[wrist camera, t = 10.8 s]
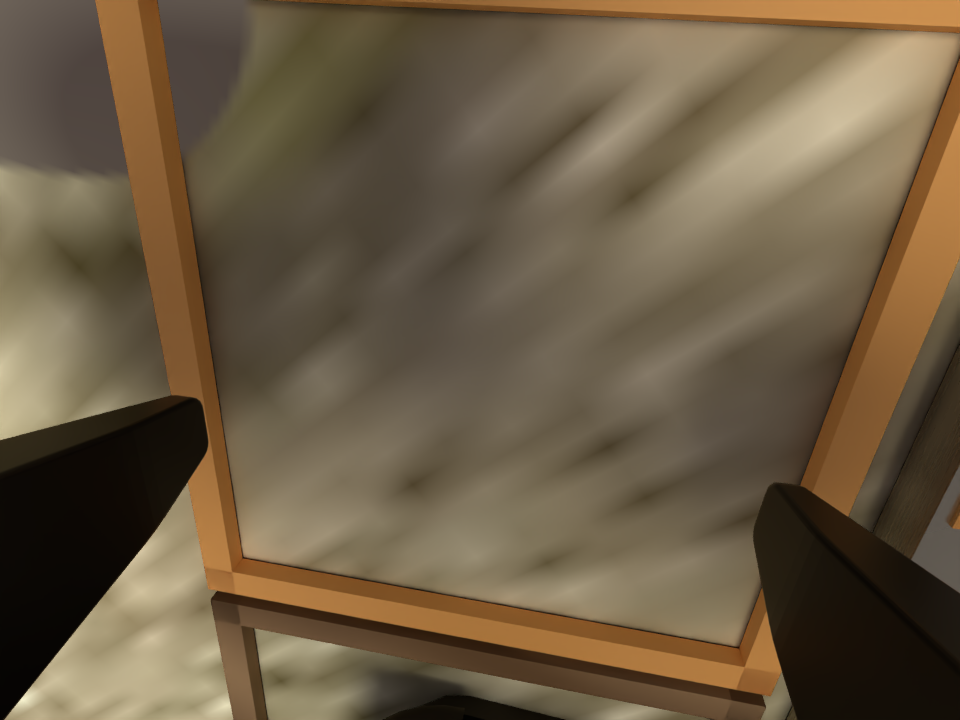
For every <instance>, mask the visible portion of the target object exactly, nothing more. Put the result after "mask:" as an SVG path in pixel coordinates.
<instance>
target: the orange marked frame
mask: <svg viewBox="0 0 960 720" xmlns="http://www.w3.org/2000/svg"><path fill="white" fill-rule="evenodd" d="M95 1H96V7H97V12H98V17H99V23H100V28H101V33H102V38H103V43H104V48H105V54H106V59H107V64H108V69H109V75H110V80H111V85H112V90H113V95H114V100H115V106H116V111H117V116H118V121H119V127H120V132H121V137H122V142H123V147H124V153H125V157H126V163H127V168H128V173H129V179H130V184H131V189H132V194H133V199H134V205H135V210H136V215H137V220H138V225H139V231H140V236H141V241H142V246H143V251H144V257H145V262H146V267H147V272H148V277H149V283H150V288H151V293H152V298H153V303H154V308H155V314H156V319H157V324H158V329H159V334H160V340H161V345H162V350H163V355H164V360H165V366H166V371H167V376H168V381H169V386H170V392H171V395H180V396H187V397H194V398H197V399H198V400H200V402H201V403H202V405H203V409H204V416H205V422H206V428H207V434H208V440H209V443H208V449H207V452H206V455H205V456H204V458H203V460H202V461H201V463H200V464H199V466H198V467H197V469H196V470H195V472H194V473H193V475H192V476H191V478H190V479H189V481H188V485H189V490H190V495H191V501H192V506H193V511H194V516H195V521H196V527H197V532H198V537H199V542H200V547H201V553H202V558H203V563H204V568H205V573H206V579H207V584H208V589H211V590H217V591H222V592H227V593H232V594H237V595H243V596H248V597H253V598H258V599H264V600H269V601H274V602H279V603H285V604H290V605H295V606H300V607H306V608H311V609H316V610H321V611H326V612H332V613H337V614H342V615H347V616H353V617H358V618H363V619H368V620H374V621H379V622H384V623H389V624H395V625H400V626H405V627H410V628H415V629H421V630H426V631H431V632H436V633H442V634H447V635H452V636H457V637H463V638H468V639H473V640H478V641H484V642H489V643H494V644H499V645H504V646H510V647H515V648H520V649H525V650H531V651H536V652H541V653H546V654H552V655H557V656H562V657H567V658H573V659H578V660H583V661H588V662H593V663H599V664H604V665H609V666H614V667H620V668H625V669H630V670H635V671H641V672H646V673H651V674H656V675H662V676H667V677H672V678H677V679H682V680H688V681H693V682H698V683H703V684H709V685H714V686H719V687H724V688H730V689H735V690H740V691H745V692H751V693H756V694H761V695H766V696H771V694H772V692H773V690H774V687H775V685H776V683H777V681H778V678H779V676H780V674H781V671H782V670H781V667H780V663H779V660H778V657H777V653H776V650H775V646H774V643H773V639H772V635H771V630H770V626H769V621H768V615H767V610H766V605H765V600H764V594H763V589H761V591H760V594H759V597H758V599H757V602H756V605H755V608H754V610H753V613H752V616H751V618H750V621H749V624H748V626H747V629H746V632H745V634H744V637H743V640H742V642H741V645H740V648H739V649H738V648H732V647H727V646H721V645H716V644H710V643H705V642H699V641H694V640H688V639H683V638H677V637H672V636H666V635H661V634H655V633H650V632H644V631H639V630H633V629H628V628H622V627H617V626H611V625H606V624H600V623H595V622H589V621H584V620H578V619H573V618H567V617H562V616H556V615H551V614H545V613H540V612H534V611H529V610H523V609H518V608H512V607H507V606H501V605H496V604H490V603H485V602H479V601H474V600H468V599H463V598H457V597H452V596H446V595H441V594H435V593H430V592H424V591H419V590H414V589H408V588H403V587H397V586H392V585H386V584H381V583H375V582H370V581H364V580H359V579H353V578H348V577H342V576H337V575H331V574H326V573H320V572H315V571H309V570H304V569H298V568H293V567H287V566H282V565H276V564H271V563H265V562H260V561H254V560H249V559H243V558H242V551H241V545H240V538H239V532H238V525H237V519H236V512H235V506H234V499H233V493H232V486H231V479H230V473H229V466H228V460H227V453H226V447H225V440H224V434H223V427H222V421H221V414H220V407H219V401H218V394H217V388H216V381H215V375H214V368H213V362H212V355H211V349H210V342H209V336H208V329H207V322H206V316H205V309H204V303H203V296H202V290H201V283H200V277H199V270H198V264H197V257H196V250H195V244H194V237H193V231H192V224H191V218H190V211H189V205H188V198H187V192H186V185H185V178H184V172H183V165H182V159H181V152H180V146H179V139H178V133H177V126H176V120H175V113H174V107H173V100H172V93H171V87H170V81H169V75H168V67H167V61H166V54H165V48H164V41H163V35H162V28H161V21H160V15H159V8H158V2H157V0H95ZM270 1H291V2H313V3H334V4H355V5H377V6H398V7H419V8H441V9H462V10H484V11H505V12H526V13H548V14H569V15H590V16H612V17H633V18H655V19H676V20H697V21H719V22H740V23H761V24H783V25H804V26H826V27H847V28H868V29H890V30H911V31H932V32H954V33H960V0H270ZM959 258H960V59H959V62H958V65H957V67H956V70H955V73H954V75H953V78H952V81H951V83H950V86H949V89H948V91H947V94H946V97H945V99H944V102H943V105H942V107H941V110H940V113H939V115H938V118H937V121H936V124H935V126H934V129H933V132H932V134H931V137H930V140H929V142H928V145H927V148H926V150H925V153H924V156H923V158H922V161H921V164H920V166H919V169H918V172H917V174H916V177H915V180H914V182H913V185H912V188H911V190H910V193H909V196H908V198H907V201H906V204H905V206H904V209H903V212H902V214H901V217H900V220H899V222H898V225H897V228H896V230H895V233H894V236H893V238H892V241H891V244H890V247H889V249H888V252H887V255H886V257H885V260H884V263H883V265H882V268H881V271H880V273H879V276H878V279H877V281H876V284H875V287H874V289H873V292H872V295H871V297H870V300H869V303H868V305H867V308H866V311H865V313H864V316H863V319H862V321H861V324H860V327H859V329H858V332H857V335H856V337H855V340H854V343H853V345H852V348H851V351H850V353H849V356H848V359H847V362H846V364H845V367H844V370H843V372H842V375H841V378H840V380H839V383H838V386H837V388H836V391H835V394H834V396H833V399H832V402H831V404H830V407H829V410H828V412H827V415H826V418H825V420H824V423H823V426H822V428H821V431H820V434H819V436H818V439H817V442H816V444H815V447H814V450H813V452H812V455H811V458H810V460H809V463H808V466H807V468H806V471H805V474H804V476H803V479H802V482H801V485H800V486H803V487H805V488H806V489H808V490H809V491H811V492H812V493H814V494H815V495H817V496H818V497H820V498H821V499H823V500H824V501H826V502H827V503H828V504H830V505H831V506H833V507H834V508H836V509H837V510H839V511H840V512H842V513H843V514H845V515H846V516H849V513H850V511H851V509H852V506H853V504H854V502H855V499H856V497H857V495H858V493H859V490H860V488H861V486H862V483H863V481H864V479H865V476H866V474H867V472H868V469H869V467H870V465H871V462H872V460H873V458H874V455H875V453H876V451H877V448H878V446H879V444H880V441H881V439H882V437H883V435H884V432H885V430H886V428H887V425H888V423H889V421H890V418H891V416H892V414H893V411H894V409H895V407H896V404H897V402H898V400H899V397H900V395H901V393H902V390H903V388H904V386H905V383H906V381H907V379H908V376H909V374H910V372H911V370H912V367H913V365H914V363H915V360H916V358H917V356H918V353H919V351H920V349H921V346H922V344H923V342H924V339H925V337H926V335H927V332H928V330H929V328H930V325H931V323H932V321H933V318H934V316H935V314H936V311H937V309H938V307H939V305H940V302H941V300H942V298H943V295H944V293H945V291H946V288H947V286H948V284H949V281H950V279H951V277H952V274H953V272H954V270H955V267H956V265H957V263H958V260H959Z"/></svg>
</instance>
